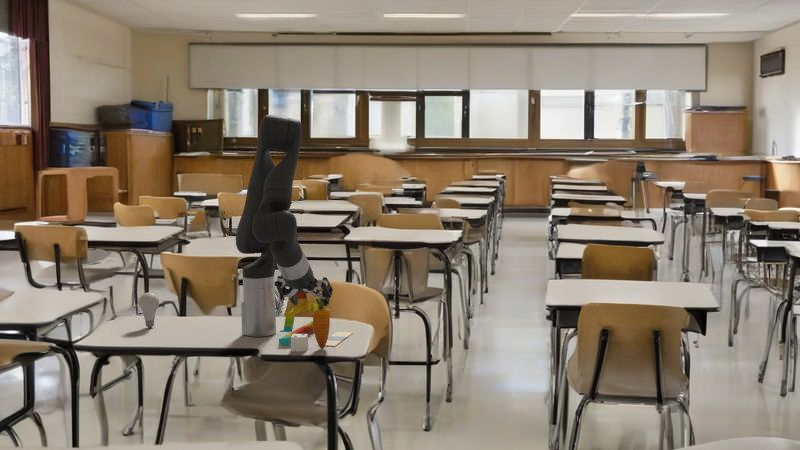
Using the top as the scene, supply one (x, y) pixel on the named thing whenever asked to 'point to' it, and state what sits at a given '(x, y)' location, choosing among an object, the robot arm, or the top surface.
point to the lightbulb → (149, 307)
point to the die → (299, 342)
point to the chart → (290, 316)
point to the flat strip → (337, 338)
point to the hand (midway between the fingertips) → (311, 303)
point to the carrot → (321, 323)
